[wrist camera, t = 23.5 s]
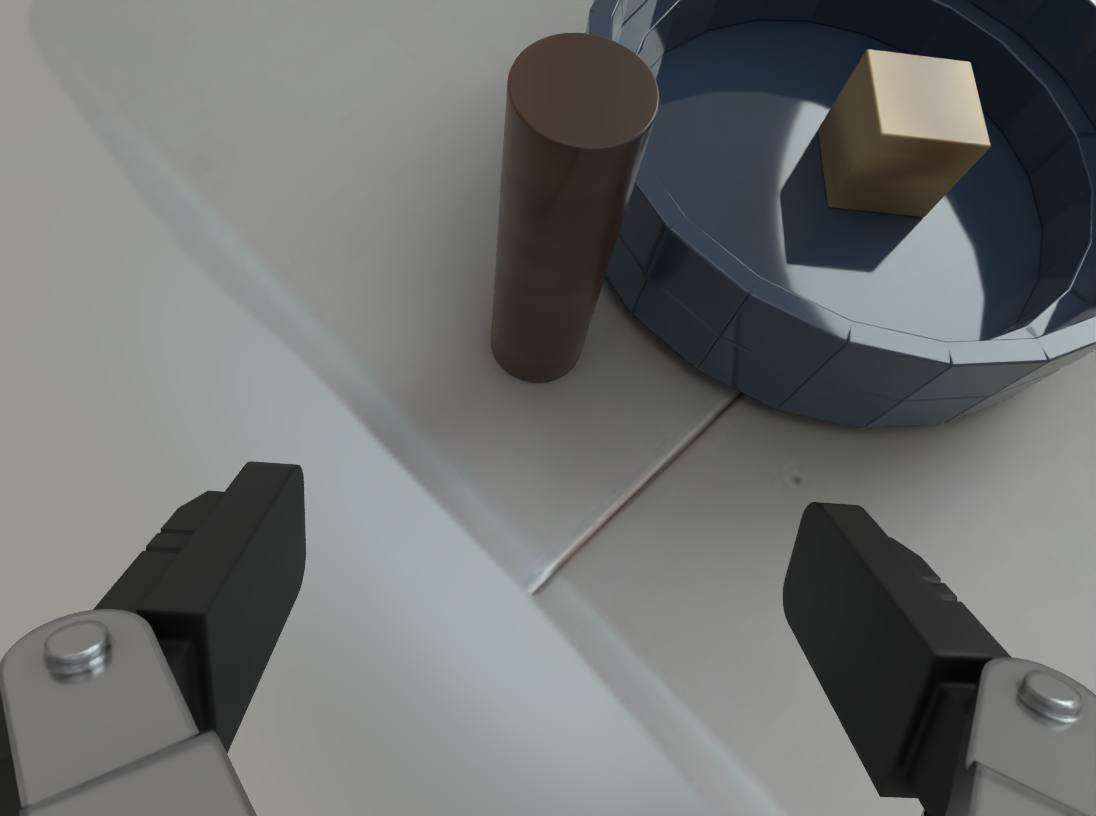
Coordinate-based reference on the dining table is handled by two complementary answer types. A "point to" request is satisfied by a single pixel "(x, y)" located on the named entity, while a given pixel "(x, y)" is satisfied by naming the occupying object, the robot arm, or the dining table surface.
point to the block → (901, 133)
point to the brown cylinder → (564, 193)
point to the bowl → (851, 235)
